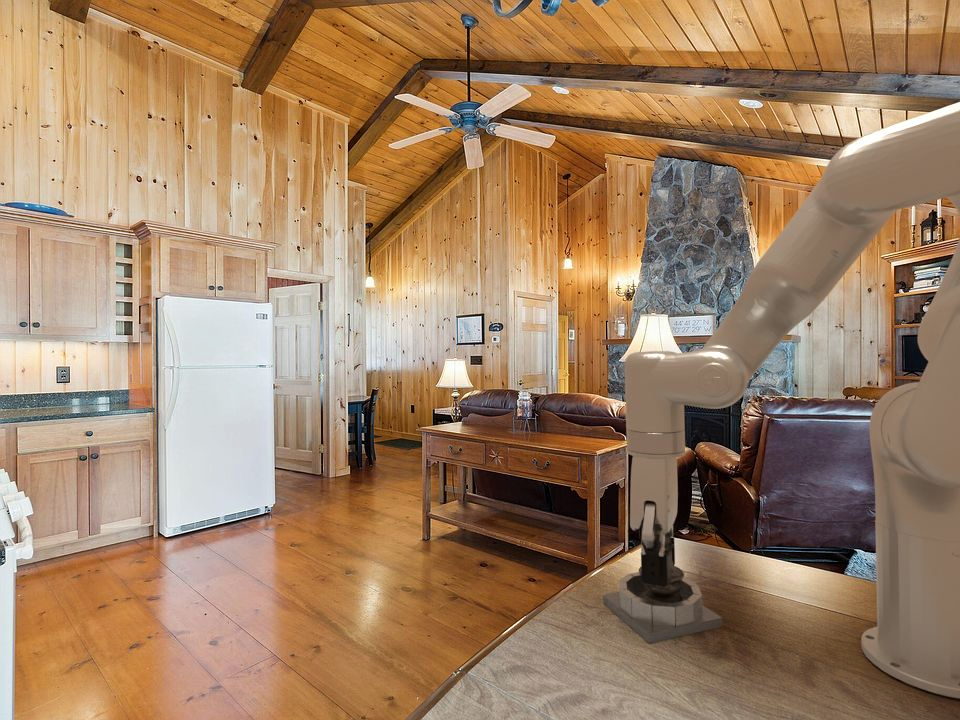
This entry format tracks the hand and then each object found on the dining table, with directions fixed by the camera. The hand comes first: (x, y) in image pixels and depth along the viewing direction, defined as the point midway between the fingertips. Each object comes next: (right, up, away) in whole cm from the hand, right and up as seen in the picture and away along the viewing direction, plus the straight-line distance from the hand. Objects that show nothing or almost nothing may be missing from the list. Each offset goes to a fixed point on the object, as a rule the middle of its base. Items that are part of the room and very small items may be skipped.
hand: (658, 572), depth 72 cm
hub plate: (0, -6, 0) cm, 6 cm away
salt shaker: (0, -4, 0) cm, 4 cm away
